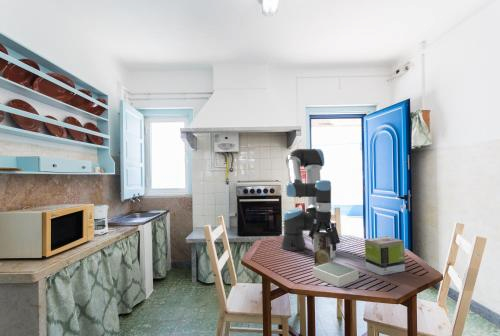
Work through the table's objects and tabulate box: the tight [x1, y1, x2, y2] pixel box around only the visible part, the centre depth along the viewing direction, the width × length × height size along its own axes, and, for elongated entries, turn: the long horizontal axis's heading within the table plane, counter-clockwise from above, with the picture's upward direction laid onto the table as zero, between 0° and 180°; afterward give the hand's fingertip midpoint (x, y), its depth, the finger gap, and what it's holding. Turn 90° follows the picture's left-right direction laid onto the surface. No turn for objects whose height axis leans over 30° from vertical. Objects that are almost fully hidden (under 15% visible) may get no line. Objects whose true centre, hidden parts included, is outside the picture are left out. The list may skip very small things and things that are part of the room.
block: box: [312, 260, 360, 288], centre depth 123 cm, size 14×14×4 cm
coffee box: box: [313, 231, 334, 267], centre depth 140 cm, size 9×6×16 cm
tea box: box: [364, 236, 406, 276], centre depth 132 cm, size 15×10×15 cm
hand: (323, 254), depth 140 cm, fingers closed on coffee box, 11 cm apart
